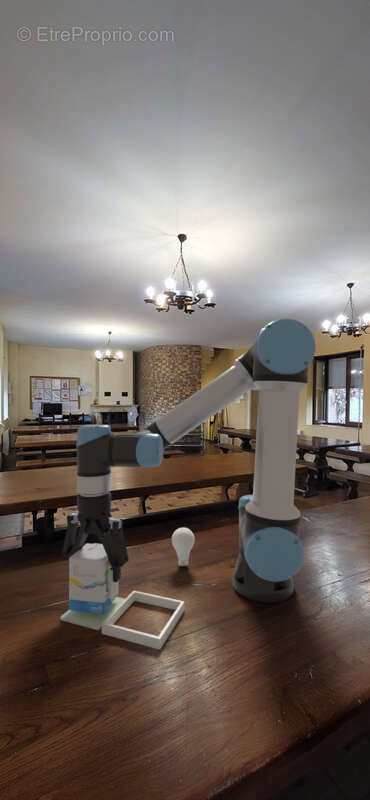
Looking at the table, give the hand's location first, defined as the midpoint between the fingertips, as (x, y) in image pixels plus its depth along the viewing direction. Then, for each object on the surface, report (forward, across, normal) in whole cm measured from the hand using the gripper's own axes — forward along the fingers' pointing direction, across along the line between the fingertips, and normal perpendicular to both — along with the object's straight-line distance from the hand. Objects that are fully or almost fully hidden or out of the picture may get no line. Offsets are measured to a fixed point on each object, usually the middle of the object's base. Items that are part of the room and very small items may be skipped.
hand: (94, 590), depth 78 cm
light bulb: (+5, -11, -26) cm, 29 cm away
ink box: (+3, 0, 0) cm, 3 cm away
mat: (+4, 0, 0) cm, 4 cm away
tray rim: (+4, -13, 0) cm, 13 cm away
